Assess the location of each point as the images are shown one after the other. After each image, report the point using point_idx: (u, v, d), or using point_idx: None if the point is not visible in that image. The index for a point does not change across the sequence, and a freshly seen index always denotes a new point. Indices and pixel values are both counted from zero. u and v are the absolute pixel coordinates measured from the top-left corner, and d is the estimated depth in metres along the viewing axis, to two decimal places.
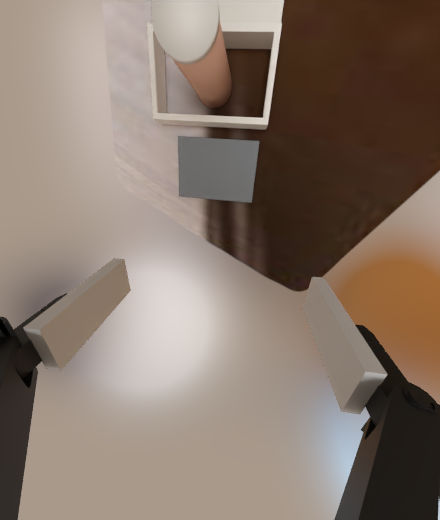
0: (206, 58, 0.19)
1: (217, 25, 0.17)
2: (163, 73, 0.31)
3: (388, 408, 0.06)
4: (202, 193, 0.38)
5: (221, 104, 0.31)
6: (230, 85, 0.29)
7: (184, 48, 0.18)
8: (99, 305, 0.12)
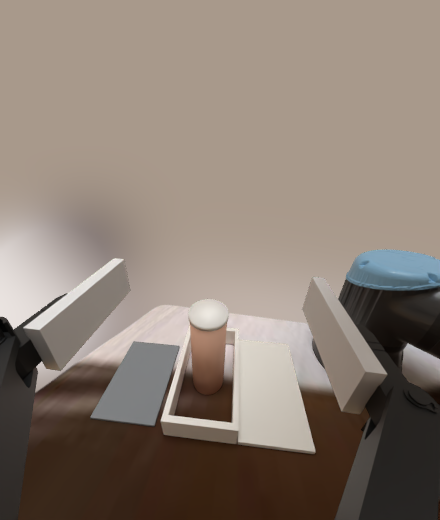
0: (191, 327, 0.28)
1: (201, 327, 0.26)
2: None
3: (388, 408, 0.06)
4: (127, 361, 0.38)
5: (193, 381, 0.35)
6: (203, 386, 0.33)
7: (194, 310, 0.29)
8: (99, 305, 0.12)
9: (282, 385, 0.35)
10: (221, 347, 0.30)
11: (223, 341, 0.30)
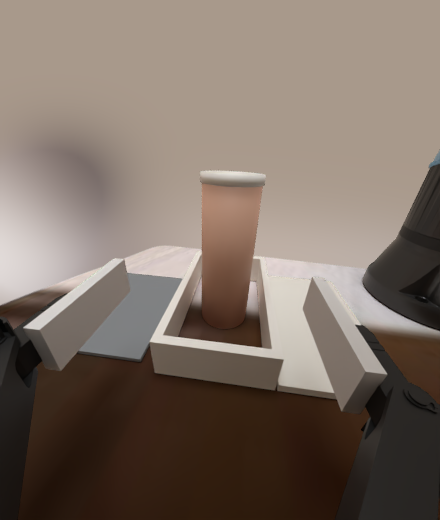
0: (205, 192, 0.17)
1: (223, 178, 0.15)
2: None
3: (388, 408, 0.06)
4: None
5: (202, 311, 0.24)
6: (218, 313, 0.22)
7: (209, 171, 0.18)
8: (99, 305, 0.12)
9: None
10: (251, 238, 0.19)
11: (254, 227, 0.18)
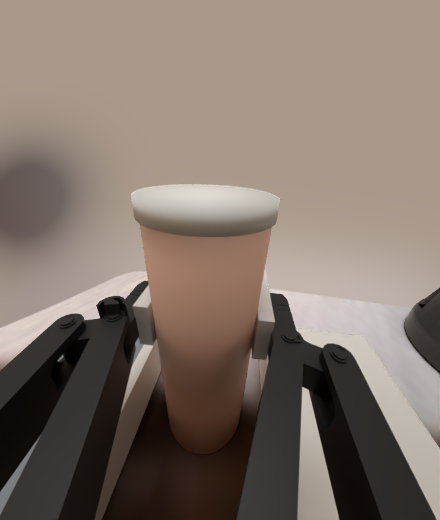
0: (142, 239, 0.08)
1: (172, 215, 0.06)
2: None
3: (272, 351, 0.08)
4: None
5: (168, 416, 0.14)
6: (190, 435, 0.12)
7: (157, 190, 0.08)
8: None
9: None
10: (249, 325, 0.09)
11: (255, 303, 0.09)
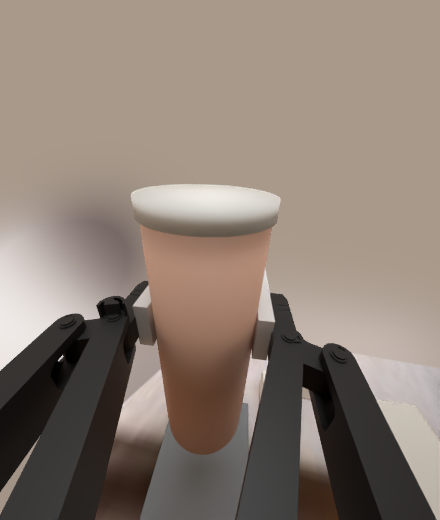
0: (143, 239, 0.07)
1: (172, 215, 0.06)
2: (306, 395, 0.28)
3: (272, 351, 0.08)
4: None
5: (168, 417, 0.14)
6: (190, 436, 0.12)
7: (157, 190, 0.08)
8: None
9: None
10: (249, 325, 0.09)
11: (255, 303, 0.09)
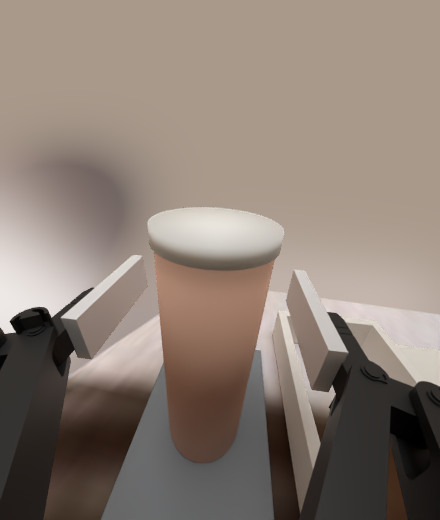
0: (157, 265, 0.08)
1: (188, 250, 0.06)
2: None
3: (348, 384, 0.07)
4: None
5: None
6: (191, 445, 0.13)
7: (170, 217, 0.09)
8: (122, 299, 0.12)
9: None
10: (252, 343, 0.10)
11: (258, 323, 0.09)
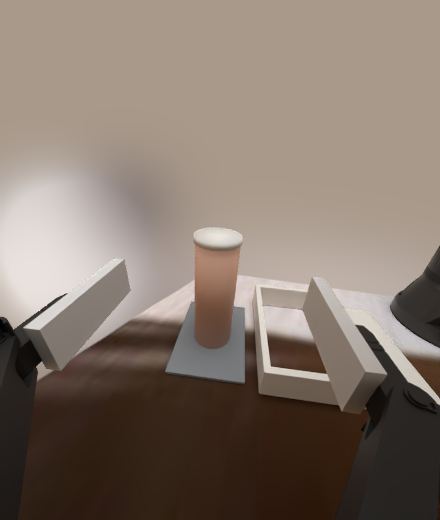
0: (197, 250, 0.23)
1: (210, 245, 0.21)
2: (287, 304, 0.38)
3: (388, 408, 0.06)
4: (190, 319, 0.33)
5: (195, 334, 0.29)
6: (207, 336, 0.27)
7: (200, 233, 0.24)
8: (99, 305, 0.12)
9: None
10: (232, 282, 0.24)
11: (234, 274, 0.24)
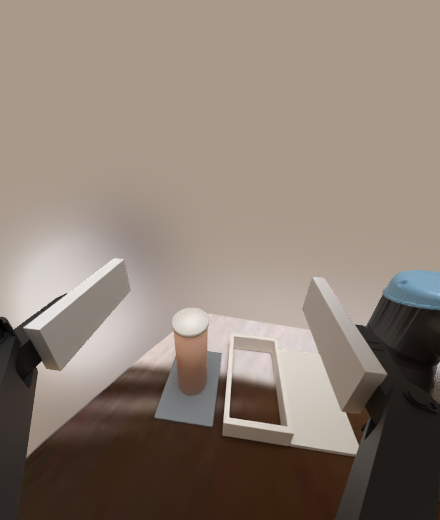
0: (174, 333, 0.31)
1: (182, 334, 0.30)
2: (257, 349, 0.46)
3: (388, 408, 0.06)
4: (176, 366, 0.42)
5: None
6: (186, 387, 0.36)
7: (177, 318, 0.32)
8: (99, 305, 0.12)
9: (323, 393, 0.38)
10: (202, 352, 0.33)
11: (203, 347, 0.33)
